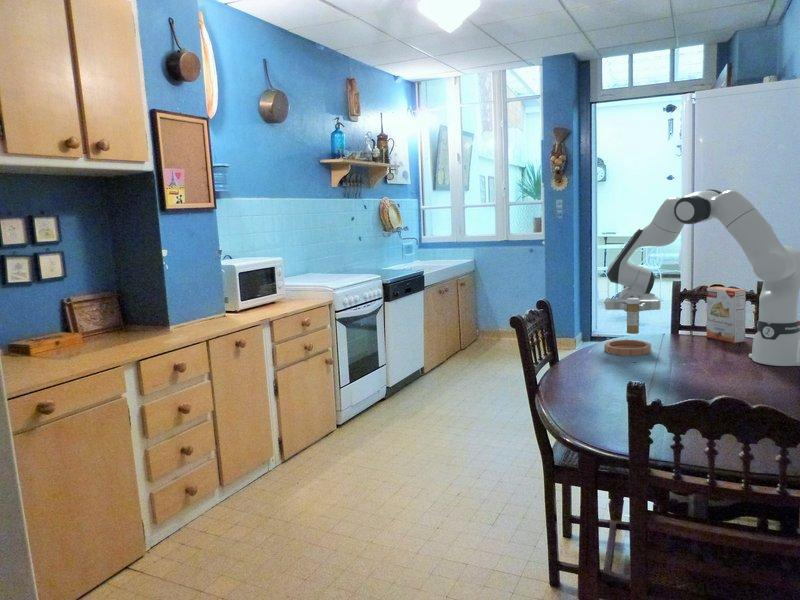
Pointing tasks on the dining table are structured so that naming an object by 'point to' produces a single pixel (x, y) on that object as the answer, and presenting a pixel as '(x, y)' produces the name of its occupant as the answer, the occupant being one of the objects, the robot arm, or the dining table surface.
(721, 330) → the cracker box
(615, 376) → the dining table surface
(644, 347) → the terracotta saucer
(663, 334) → the dining table surface
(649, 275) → the robot arm
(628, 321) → the sprinkles bottle
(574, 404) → the dining table surface
